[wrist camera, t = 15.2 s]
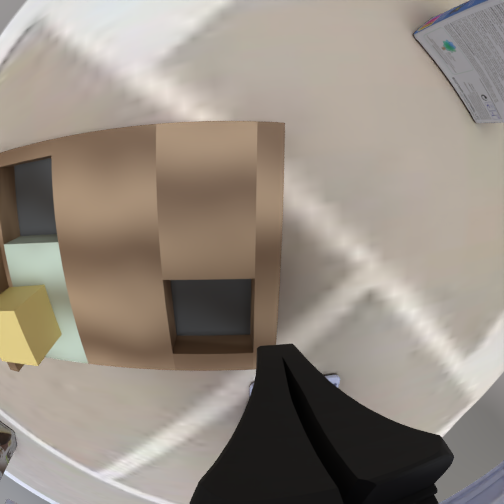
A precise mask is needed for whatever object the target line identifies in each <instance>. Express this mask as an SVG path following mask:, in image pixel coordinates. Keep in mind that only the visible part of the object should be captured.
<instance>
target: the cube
mask: <svg viewBox="0 0 504 504" xmlns="http://www.w3.org/2000/svg"><path fill="white" fill-rule="evenodd" d="M61 335H62V333H61V330H60V328H59V325H58V323H57V320H56V317H55V315H54V312H53V309H52V306H51V303H50V300H49V297H48V294H47V291H46V288H45V285H32V286H19V287H9V288H8V289H6V290H5V291H4V292H2V293H1V294H0V358H1V360H2V361H6V362H13V363H20V364H27V365H35V366H39V364H40V363H41V361H42V360H43V359H44V357H45V356H46V355H47V353H48V352H49V351H50V349H51V348H52V347H53V345H54V344H55V343H56V341H57V340H58V339H59V337H60V336H61Z"/></svg>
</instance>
